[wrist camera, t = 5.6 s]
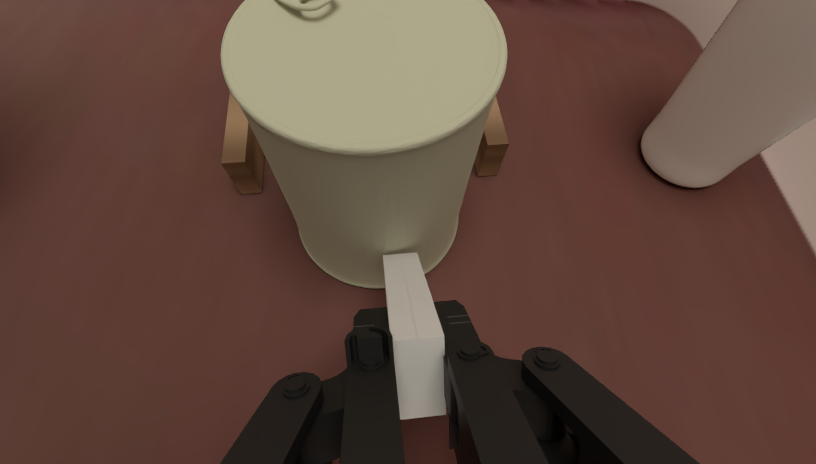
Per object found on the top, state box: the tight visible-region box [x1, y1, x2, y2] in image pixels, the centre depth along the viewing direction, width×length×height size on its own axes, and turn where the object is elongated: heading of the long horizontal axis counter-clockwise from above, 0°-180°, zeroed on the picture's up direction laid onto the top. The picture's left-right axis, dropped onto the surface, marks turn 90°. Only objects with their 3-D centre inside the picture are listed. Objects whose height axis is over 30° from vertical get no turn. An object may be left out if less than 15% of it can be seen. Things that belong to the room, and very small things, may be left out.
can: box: [221, 0, 507, 288], centre depth 18 cm, size 9×9×12 cm
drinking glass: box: [641, 0, 816, 188], centre depth 19 cm, size 7×7×15 cm
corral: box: [221, 3, 509, 194], centre depth 25 cm, size 13×15×3 cm
